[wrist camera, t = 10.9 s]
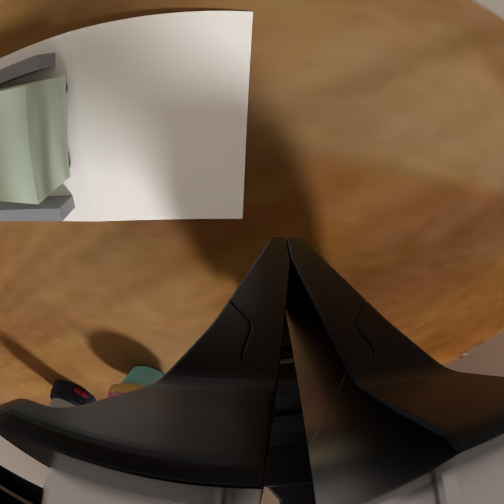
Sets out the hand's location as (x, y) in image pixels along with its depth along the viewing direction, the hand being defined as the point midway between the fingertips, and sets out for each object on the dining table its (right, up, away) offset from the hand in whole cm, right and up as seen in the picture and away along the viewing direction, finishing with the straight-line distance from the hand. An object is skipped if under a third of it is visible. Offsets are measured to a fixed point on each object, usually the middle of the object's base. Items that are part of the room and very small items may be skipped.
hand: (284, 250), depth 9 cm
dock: (-13, +9, +9) cm, 18 cm away
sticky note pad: (-17, +9, +7) cm, 20 cm away
